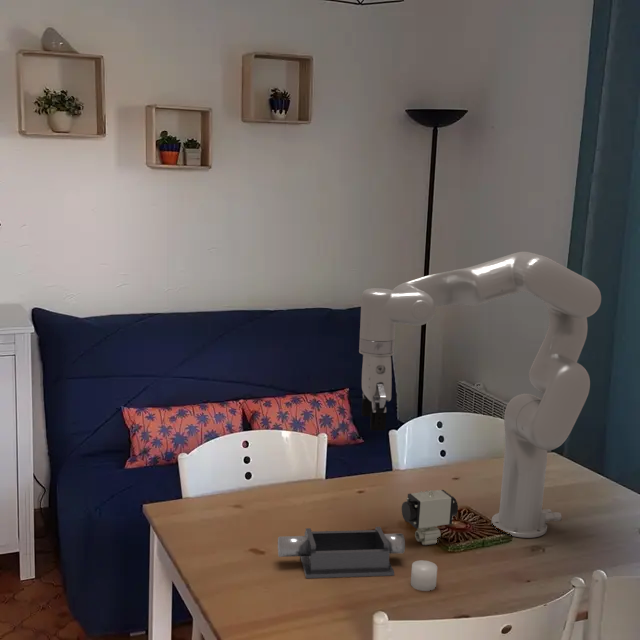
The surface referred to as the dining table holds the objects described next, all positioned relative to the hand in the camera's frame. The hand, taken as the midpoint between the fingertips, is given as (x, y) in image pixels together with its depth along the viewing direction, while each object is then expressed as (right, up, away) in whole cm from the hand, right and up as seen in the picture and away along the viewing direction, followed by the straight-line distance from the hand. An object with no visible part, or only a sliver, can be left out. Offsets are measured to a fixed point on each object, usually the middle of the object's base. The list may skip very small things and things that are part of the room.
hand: (373, 422), depth 183 cm
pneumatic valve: (+12, -27, +3) cm, 30 cm away
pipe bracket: (-6, -28, -8) cm, 30 cm away
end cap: (+9, -30, -16) cm, 35 cm away
